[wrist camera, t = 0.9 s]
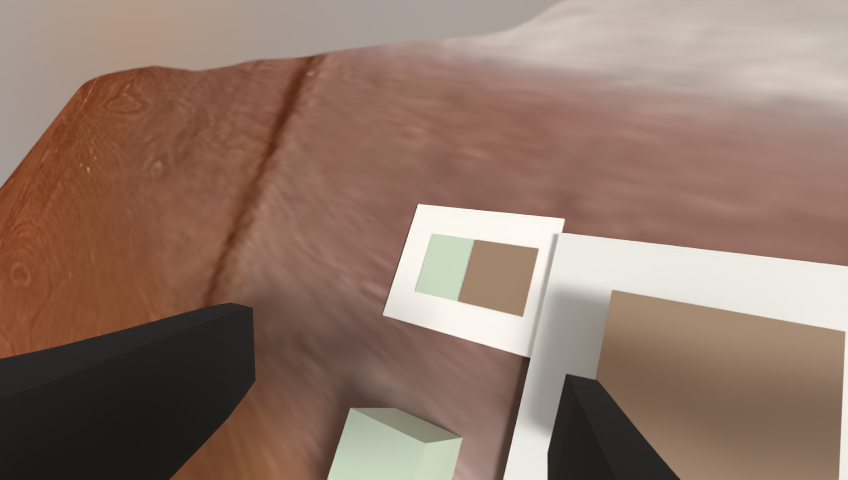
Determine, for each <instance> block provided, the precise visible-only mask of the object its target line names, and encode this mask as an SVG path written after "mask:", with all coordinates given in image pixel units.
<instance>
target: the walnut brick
mask: <svg viewBox="0 0 848 480" xmlns="http://www.w3.org/2000/svg"><path fill="white" fill-rule="evenodd" d="M844 353H845V331H840V330H834V329H828V328H823V327H817V326H812V325H806V324H801V323H795V322H789V321H784V320H778V319H773V318H767V317H762V316H756V315H750V314H745V313H739V312H734V311H728V310H723V309H717V308H711V307H706V306H700V305H695V304H689V303H684V302H678V301H672V300H667V299H661V298H656V297H650V296H645V295H639V294H633V293H628V292H622V291H617V290H612V293H611V298H610V303H609V309H608V314H607V319H606V325H605V330H604V336H603V341H602V346H601V352H600V357H599V362H598V368H597V373H596V378H595V380H598V381H599V382H600V384H601V385H602V386H603V387H604V388H605V389H606V391H607V392H608V393H609V394H610V396H611V397H612V398H613V399H614V401H615V402H616V403H617V404H618V406H619V407H620V408H621V409H622V411H623V412H624V413H625V414H626V416H627V417H628V418H629V419H630V421H631V422H632V423H633V424H634V426H635V427H636V428H637V429H638V430H639V432H640V433H641V434H642V435H643V436H644V438H645V439H646V440H647V441H648V442H649V444H650V445H651V446H652V447H653V448H654V450H655V451H656V452H657V453H658V454H659V455H660V457H661V458H662V459H663V460H664V461H665V462H666V464H667V465H668V466H669V467H670V468H671V469H672V471H673V472H674V473H675V474H676V475H677V476H678V477H679V478H680V480H839V467H840V444H841V421H842V398H843V376H844Z"/></svg>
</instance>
